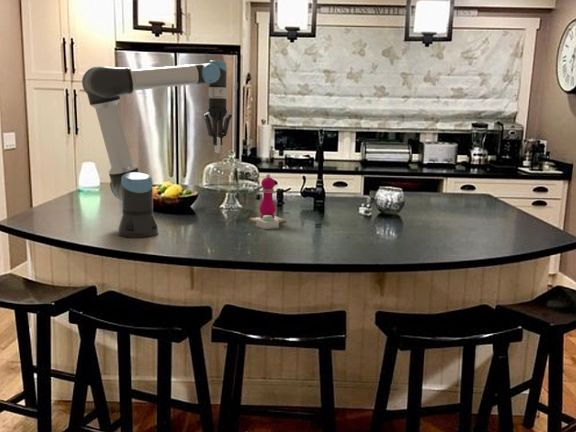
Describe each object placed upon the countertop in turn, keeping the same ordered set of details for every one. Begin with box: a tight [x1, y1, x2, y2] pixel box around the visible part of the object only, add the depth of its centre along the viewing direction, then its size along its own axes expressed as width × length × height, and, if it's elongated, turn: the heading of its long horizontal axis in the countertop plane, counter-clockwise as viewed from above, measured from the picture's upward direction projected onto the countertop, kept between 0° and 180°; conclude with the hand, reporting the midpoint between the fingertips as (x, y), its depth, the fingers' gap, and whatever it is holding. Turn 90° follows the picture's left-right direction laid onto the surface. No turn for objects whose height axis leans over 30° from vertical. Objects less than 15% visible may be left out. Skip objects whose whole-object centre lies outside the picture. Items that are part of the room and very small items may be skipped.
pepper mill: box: [258, 173, 277, 219], centre depth 253 cm, size 7×7×20 cm
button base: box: [255, 218, 280, 230], centre depth 245 cm, size 7×7×3 cm
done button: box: [263, 215, 272, 222], centre depth 244 cm, size 4×4×4 cm
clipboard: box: [248, 215, 287, 224], centre depth 255 cm, size 13×10×1 cm
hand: (217, 152), depth 252 cm, fingers closed
